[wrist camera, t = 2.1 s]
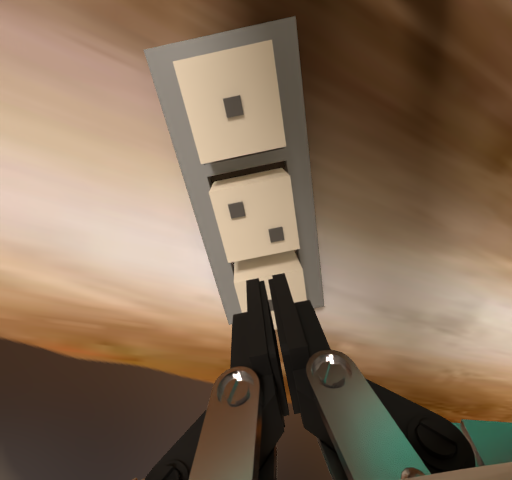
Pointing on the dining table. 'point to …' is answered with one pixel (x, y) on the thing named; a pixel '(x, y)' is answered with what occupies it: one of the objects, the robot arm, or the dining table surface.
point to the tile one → (232, 101)
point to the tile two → (255, 214)
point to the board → (292, 155)
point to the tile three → (270, 276)
